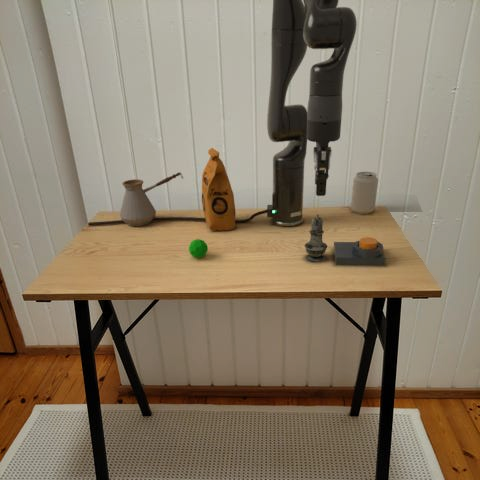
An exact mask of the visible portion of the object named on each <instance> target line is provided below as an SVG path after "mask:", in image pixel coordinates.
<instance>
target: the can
mask: <svg viewBox="0 0 480 480" xmlns="http://www.w3.org/2000/svg"><path fill="white" fill-rule="evenodd" d="M378 185H379V178H378V177H377V173H376V172H373V171H358V172H356V174H355V176H354V177H353V181H352V191H351V202H350V210H352V211H353V212H354V213H356V214H360V215H368V214H371V213H372V212H373V211H375V208H376V202H377V201H376V200H377V193H378Z"/></svg>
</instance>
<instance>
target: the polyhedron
mask: <svg viewBox="0 0 480 480" xmlns="http://www.w3.org/2000/svg"><path fill="white" fill-rule="evenodd" d="M208 247H209V246H208V244H207V243H206V242H205V240H203V239H199V238H197V239H194V240H191V242H190V243H189V246H188V252H189V253H190V254H189V255H191V257H193V258H196V259H201V258H203V257H205V256H206V255H207V253H208V250H209V248H208Z"/></svg>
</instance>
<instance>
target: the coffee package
mask: <svg viewBox="0 0 480 480" xmlns="http://www.w3.org/2000/svg"><path fill="white" fill-rule="evenodd" d="M207 153H208V155H210V157H209V159H208V160H207V163H206V164H205V167H204V169H203V171H202V175H201V204H202V211H203V216H204V217H203V218H205V220H206V221H205V222H206V224H207V226H208V228H209V229H210V231H212V232H216V231H219V232H222V231H230V230H235V226H236V223H235V220H237V217H236V204H235V195H234V191H233V189H232V185H231V182H230V179H229V176H228V173H227V170H226V167H225V165H224V162H223V160H221V158H220V152H219V151H218V150H216V149H214V147H211V148H209V149H208V151H207Z"/></svg>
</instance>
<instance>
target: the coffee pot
mask: <svg viewBox="0 0 480 480" xmlns="http://www.w3.org/2000/svg"><path fill="white" fill-rule="evenodd" d="M179 176H180V177H181V179H182V180H183V179H184V176H183V174H182V173H181V171H180V172H176V174H172V175H171V176H168V177H165V178H163V179H162V180H160V181H158V182H156V183H155V184H153V185H151V186H149V187H146V188H144V189H143V184H144V181H143V180H142V179H128V180H124V181H123V182H122V186H124V189H125V191H124V195H123V199H122V204H121V208H120V211H119V218H120V220H123V221H124V222H125V223H124V224H127V225H128V226H131V227H142V226H146V225H149V224H150V223H152V221H151V220H153V218H156V215H157V211H156V209H155V207H154V205H153V204H152V202H151V200H150V198H149V196H148V195H147V194H146V193H147V192H150V191H151V190H154V189H155V188H157V187H159V186H161V185H164V184H167V183H169V182H170V181H172V180H173V179H176V178H177V177H179Z"/></svg>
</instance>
